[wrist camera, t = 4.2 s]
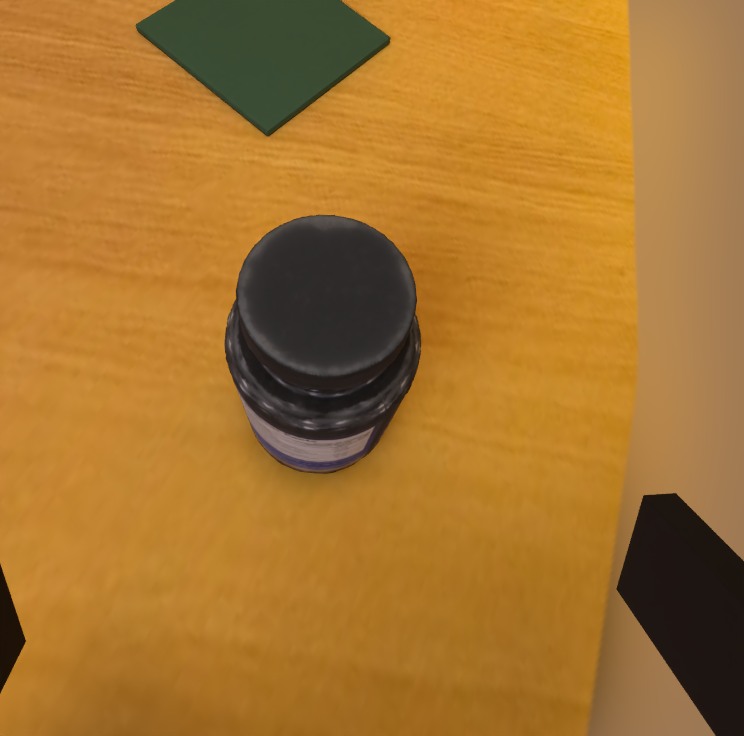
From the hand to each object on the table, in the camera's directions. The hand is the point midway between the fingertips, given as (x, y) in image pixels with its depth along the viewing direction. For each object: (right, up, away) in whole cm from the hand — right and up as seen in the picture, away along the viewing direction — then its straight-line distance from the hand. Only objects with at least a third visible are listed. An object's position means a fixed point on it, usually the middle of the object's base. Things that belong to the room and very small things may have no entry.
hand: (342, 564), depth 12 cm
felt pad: (-5, +23, +20) cm, 31 cm away
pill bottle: (-2, +2, +13) cm, 13 cm away
